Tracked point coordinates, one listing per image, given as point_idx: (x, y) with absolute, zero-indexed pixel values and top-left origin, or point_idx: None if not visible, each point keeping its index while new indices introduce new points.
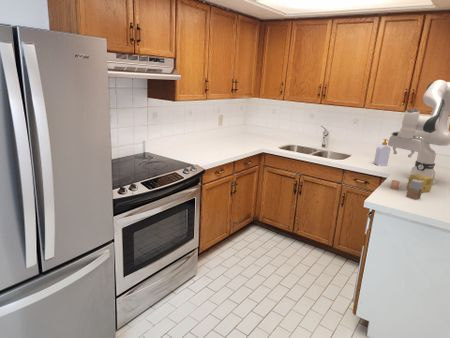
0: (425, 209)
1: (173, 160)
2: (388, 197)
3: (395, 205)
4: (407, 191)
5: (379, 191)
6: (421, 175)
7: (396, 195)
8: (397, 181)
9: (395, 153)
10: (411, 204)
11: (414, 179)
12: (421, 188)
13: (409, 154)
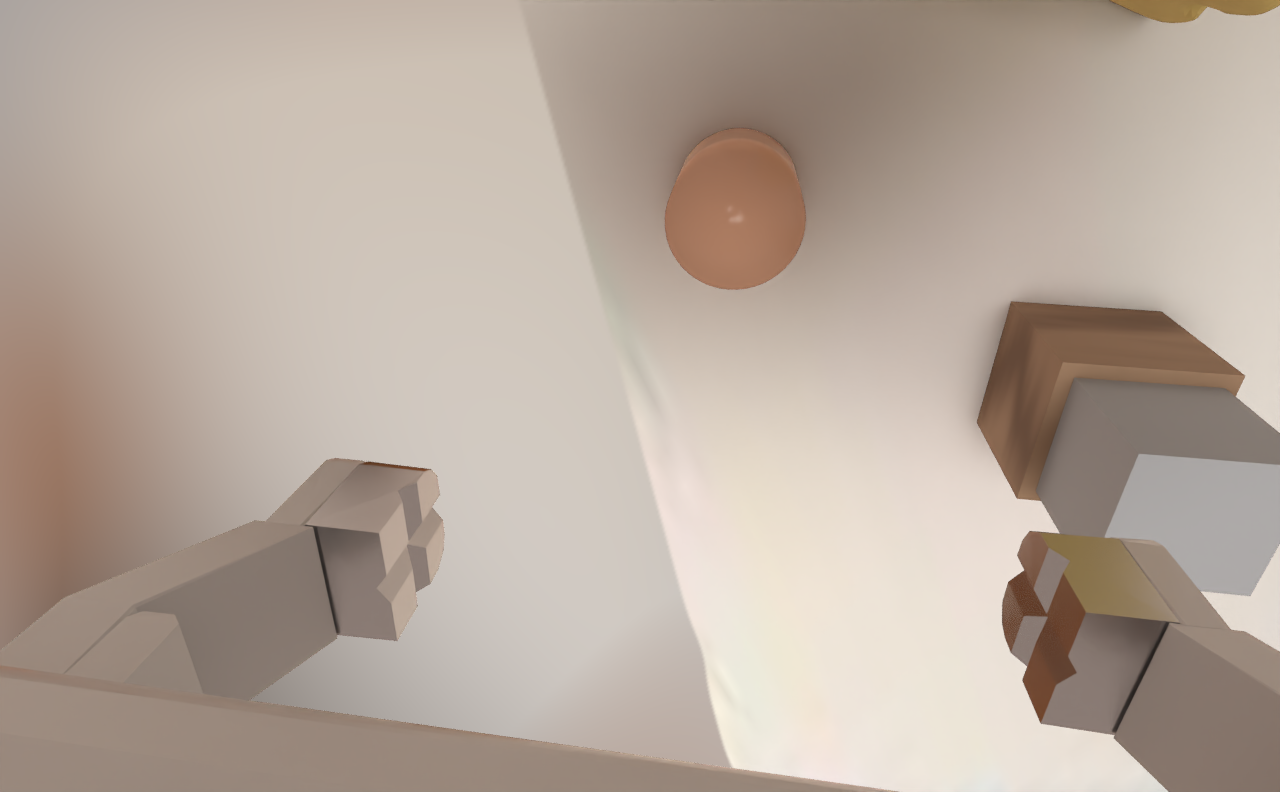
0: None
1: None
2: (826, 605)
3: (951, 743)
4: (1004, 466)
5: (674, 502)
6: None
7: (870, 476)
8: (755, 192)
9: (428, 577)
10: None
11: (1140, 470)
12: (1201, 10)
13: (1089, 672)
